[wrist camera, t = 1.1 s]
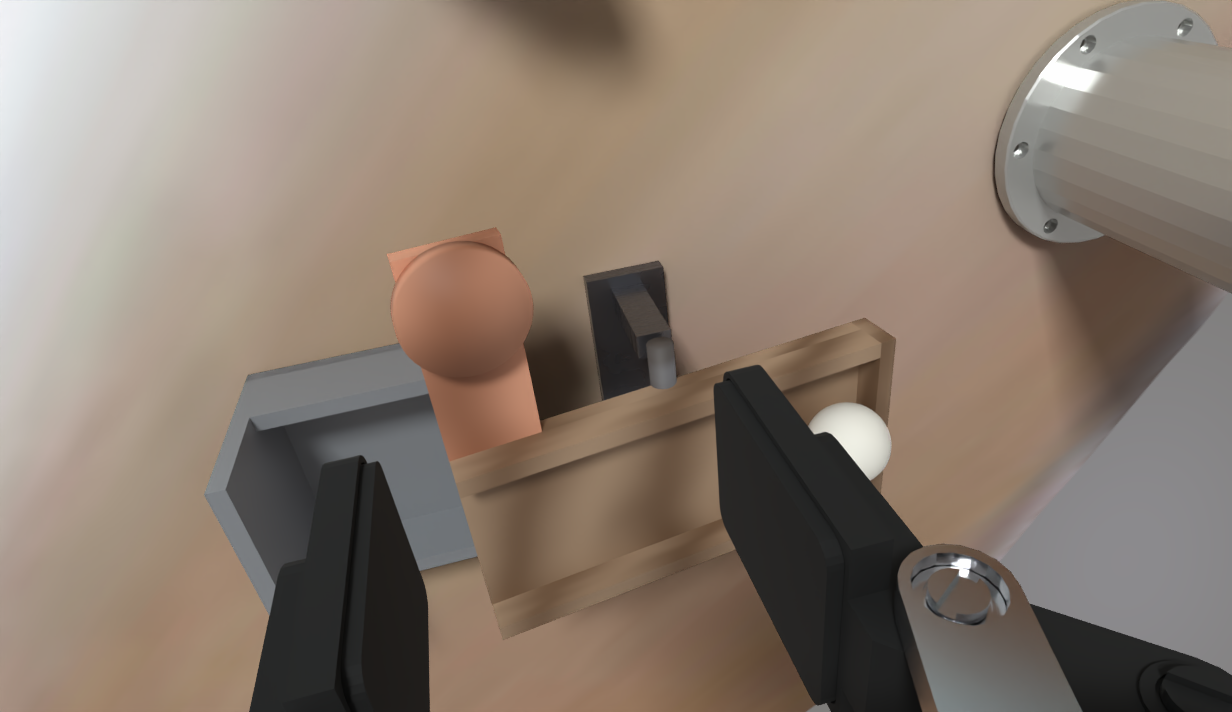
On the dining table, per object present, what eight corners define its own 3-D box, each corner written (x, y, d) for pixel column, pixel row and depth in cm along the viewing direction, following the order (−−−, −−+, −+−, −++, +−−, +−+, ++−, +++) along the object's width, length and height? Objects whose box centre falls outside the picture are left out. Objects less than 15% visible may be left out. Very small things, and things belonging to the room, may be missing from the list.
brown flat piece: (869, 126, 32) (915, 141, 30) (845, 488, 43) (878, 520, 41) (369, 246, 27) (377, 276, 24) (487, 625, 38) (501, 671, 35)
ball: (850, 376, 37) (914, 414, 34) (846, 439, 39) (906, 480, 36) (787, 406, 36) (848, 448, 33) (787, 470, 38) (844, 515, 35)
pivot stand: (658, 260, 39) (695, 312, 34) (678, 477, 46) (710, 546, 41) (583, 276, 38) (608, 331, 33) (616, 493, 46) (640, 564, 41)
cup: (482, 325, 38) (499, 427, 31) (523, 494, 44) (545, 614, 37) (247, 375, 37) (204, 494, 29) (323, 543, 43) (303, 678, 35)
